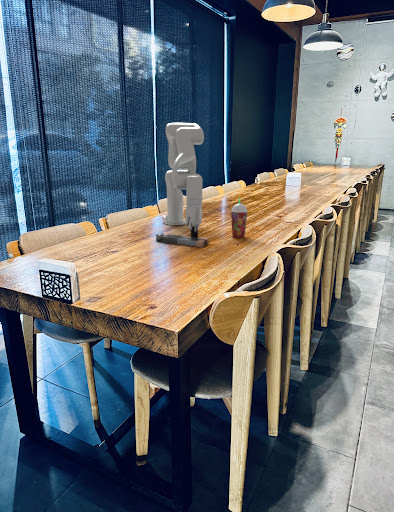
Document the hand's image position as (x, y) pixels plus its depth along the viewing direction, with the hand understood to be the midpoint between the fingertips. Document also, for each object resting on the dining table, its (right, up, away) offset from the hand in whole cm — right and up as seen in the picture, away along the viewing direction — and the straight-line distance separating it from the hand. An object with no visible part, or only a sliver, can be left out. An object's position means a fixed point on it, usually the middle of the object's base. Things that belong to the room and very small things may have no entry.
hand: (194, 239), depth 184 cm
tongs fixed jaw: (-5, -3, -5) cm, 8 cm away
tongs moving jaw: (-6, -1, -1) cm, 7 cm away
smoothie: (+23, +2, +11) cm, 25 cm away
